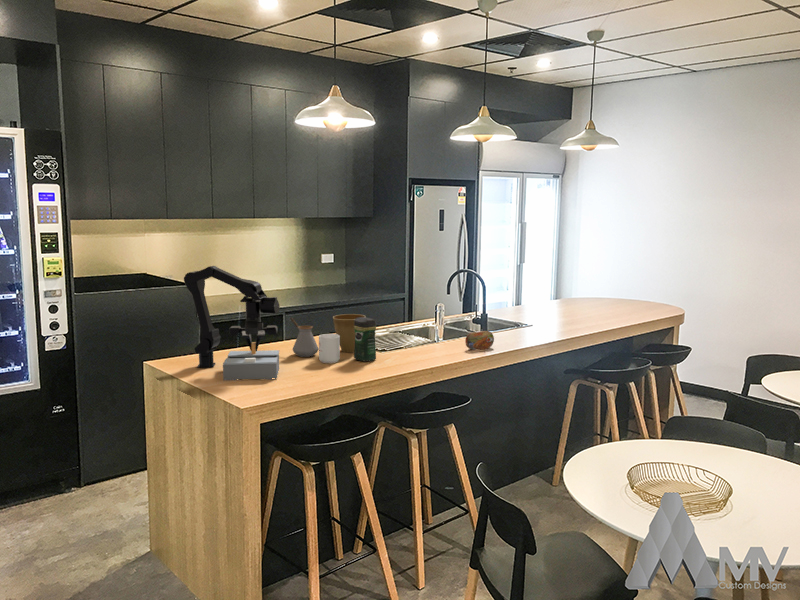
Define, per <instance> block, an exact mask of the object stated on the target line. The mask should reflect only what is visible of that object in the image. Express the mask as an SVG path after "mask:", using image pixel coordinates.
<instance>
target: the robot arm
mask: <svg viewBox="0 0 800 600" xmlns="http://www.w3.org/2000/svg"><path fill="white" fill-rule="evenodd" d="M184 275H185V276H184V277H183V282H184V284H185V286H186V289H187V291H188V292H189V293H190V294H191V296H192V300H193V305H194V307H195V312H196V315H197V319H198V320H197V321H198V324H199V326H200V331H199V343H198V344H197V345H196V346H195V347H194V351H195V354H198V365H197V366H196V368H198V369H199V368H200V369H201V368H202V369H203V368H214V367H215V366H216V363H217V362H214V351H215V350H217V346H219V344H220V343H221V338H222V337H221V334H220V329H219V328H215V327H214V325H213V323H212V319H211V314H210V310H209V306H208V304H207V303H208V302H207V299H206V295H205V289H206V280H207V279H210V278H213V279H214V280H215V279H216V280H218V281H220V282H222V283H225V284H227V285H229V286H231V287H233V288H235V289H236V290H238V291H239V292H240V294H242V295H243V297H242V298H241V299H240V300H239V301H240V303H245V323H244V327H241V325H232V326H230V327H229V329H228V335H229V336H237V335H238V334H240V333H241V337H242V338H244V339H245V340H246V343H247V345H248V347H249V351H252V348H251V344H252V342H253V341H252V335H255V336H256V340H255V342H256V351H258V348H259V345H260V342H261V340H262V337H265V335H266V333H267V335H269V336H271V335H273V336H274V335H277V334H278V326H277V325H275V324H274V325H267V326H266V327H264V323H263V321H261V313H262V314H265V315H266V314H267V315H277V314H279V312H280V302H279V300H278V297H277V296H271V297H270V296H269V297H268V295H267V294H266V292H265V291H264V289H262V285H261V283H260V282H258V281H256V280H251V279H246V278H242V277H239V276H237V275H235V274H233V273H230V272H228V271H226V270H225V269H221V268H219V267H218V266H217V265H210V266H207V267H205V268H203V269H201V270H194V271H190V272H187V273H185V274H184Z"/></svg>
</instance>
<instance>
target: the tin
mask: <svg viewBox="0 0 800 600" xmlns="http://www.w3.org/2000/svg"><path fill="white" fill-rule="evenodd" d="M464 342H465V346H466V348H468V349H469V350H471V351H479V350H485V349H487V350H488V349H490V348H491V347H492V346H493V345H494V342H495V336H494V334H493V332H492V331H489V330H481V331H472V332H469V333H468V334H467V335H466V336H465V341H464Z"/></svg>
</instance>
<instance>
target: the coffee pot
mask: <svg viewBox="0 0 800 600" xmlns="http://www.w3.org/2000/svg"><path fill="white" fill-rule="evenodd" d="M287 320H288V321H290V322H292V323H293V325H295V327H296V328H297V329H298V331H299V332H298V335H297V337H296V340H295V342H294V345H293V347H292V351H293V353H294V354H295V355H296V356H297V357H299V356H300V357H301V358H310V356H311V357H314V356H315V355H316V354H317V353H319V345H318V344H317V342H316V340H315V337H314V334H313V333H312V330H313V327H314V326H313V325H299V324H298V323H297V322H296V321H295V319H294V318H293V317H289V318H288V319H287Z"/></svg>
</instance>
